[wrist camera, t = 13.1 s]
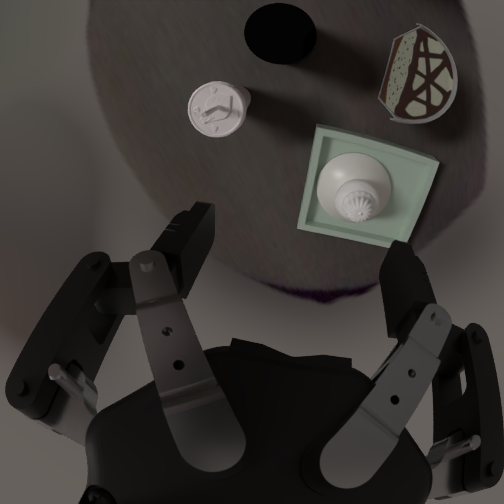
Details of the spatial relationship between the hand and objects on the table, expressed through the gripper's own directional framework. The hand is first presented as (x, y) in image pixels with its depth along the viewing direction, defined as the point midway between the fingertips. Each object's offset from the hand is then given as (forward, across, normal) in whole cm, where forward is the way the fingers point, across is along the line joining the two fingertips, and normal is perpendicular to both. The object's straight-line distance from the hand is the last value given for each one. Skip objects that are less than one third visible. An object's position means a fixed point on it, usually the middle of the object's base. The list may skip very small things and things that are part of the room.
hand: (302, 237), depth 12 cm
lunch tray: (+28, -10, +9) cm, 31 cm away
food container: (+28, -12, -9) cm, 32 cm away
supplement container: (+28, +4, -10) cm, 30 cm away
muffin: (+26, -8, +9) cm, 29 cm away
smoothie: (+28, +10, -1) cm, 30 cm away
